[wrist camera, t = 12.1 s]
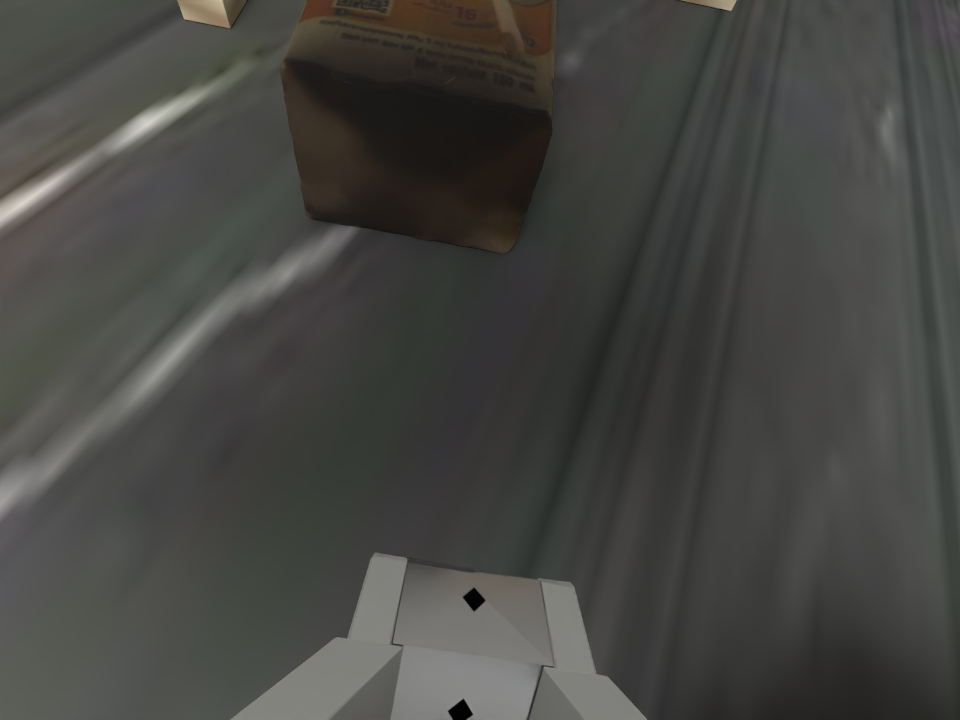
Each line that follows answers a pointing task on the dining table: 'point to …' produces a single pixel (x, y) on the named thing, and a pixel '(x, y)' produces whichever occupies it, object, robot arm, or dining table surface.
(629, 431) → the dining table surface
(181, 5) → the oak fence
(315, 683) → the robot arm
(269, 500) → the dining table surface
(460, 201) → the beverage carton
